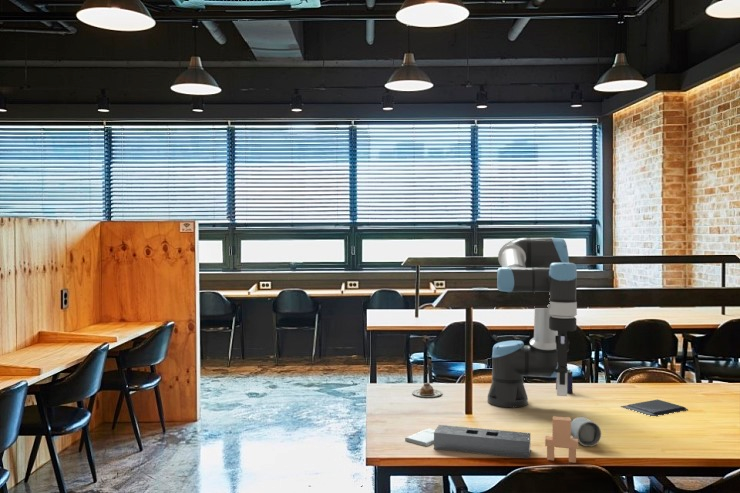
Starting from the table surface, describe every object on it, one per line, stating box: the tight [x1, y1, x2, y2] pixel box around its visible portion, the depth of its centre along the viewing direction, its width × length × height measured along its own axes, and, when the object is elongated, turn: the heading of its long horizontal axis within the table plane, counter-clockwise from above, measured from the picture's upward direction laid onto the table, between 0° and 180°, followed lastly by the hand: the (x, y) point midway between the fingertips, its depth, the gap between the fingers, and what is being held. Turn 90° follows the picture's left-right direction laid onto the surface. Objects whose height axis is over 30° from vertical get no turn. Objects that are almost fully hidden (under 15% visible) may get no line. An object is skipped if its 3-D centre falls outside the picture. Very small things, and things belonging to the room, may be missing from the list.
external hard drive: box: [404, 427, 436, 447], centre depth 201 cm, size 2×8×12 cm
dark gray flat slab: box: [620, 399, 689, 417], centre depth 235 cm, size 20×2×15 cm
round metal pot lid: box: [411, 382, 443, 399], centre depth 255 cm, size 12×12×5 cm
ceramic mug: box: [571, 416, 602, 447], centre depth 197 cm, size 11×8×8 cm
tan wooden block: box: [544, 415, 579, 464], centre depth 182 cm, size 3×9×12 cm, turn 73°
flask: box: [555, 367, 574, 395], centre depth 260 cm, size 9×3×11 cm, turn 21°
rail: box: [433, 424, 531, 460], centre depth 191 cm, size 8×28×5 cm, turn 73°
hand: (562, 390), depth 182 cm, fingers open, 13 cm apart
